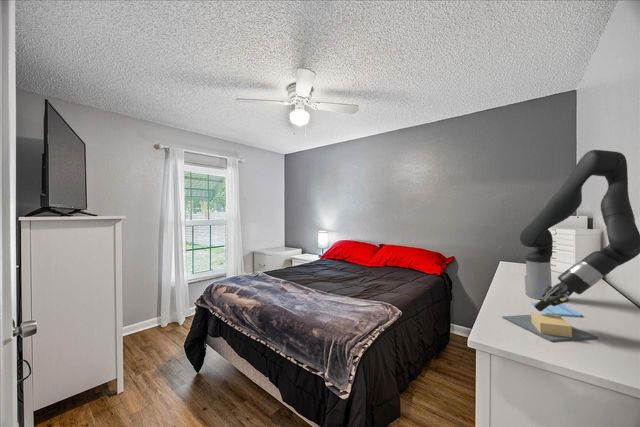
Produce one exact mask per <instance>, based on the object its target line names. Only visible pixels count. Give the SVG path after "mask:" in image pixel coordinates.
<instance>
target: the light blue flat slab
mask: <svg viewBox="0 0 640 427" xmlns="http://www.w3.org/2000/svg"><path fill="white" fill-rule="evenodd" d="M537 303H538V302H530V305H531V306H533V307H534V305H535V304H537ZM540 312H541V313H542V314H549V315H559V316H560V317H568V318H569V317H572V318H583V316H584V315H583V314H582V313H580V312H579V311H576V309H573V308H571V307H569V306H567V305H566V304H565V303H563V304H559V305H556V306H552V305H551V306H548V307H546V308H545V309H544V310H542V311H540Z"/></svg>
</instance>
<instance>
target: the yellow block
mask: <svg viewBox="0 0 640 427" xmlns="http://www.w3.org/2000/svg"><path fill="white" fill-rule="evenodd" d="M530 315H531V322H532V324H533V325H534V326H535V327H536V329H537V330H538V331H539V332H540V333H541V334H549V335H557V336H565V337H572V328H571V326H572V325H570V324H569V322H567V321H566V320H565V319H564V318H563V317H562V316H559V315H549V314H544V313H537V312H530Z"/></svg>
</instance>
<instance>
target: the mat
mask: <svg viewBox="0 0 640 427" xmlns="http://www.w3.org/2000/svg"><path fill="white" fill-rule="evenodd" d="M501 318H502V319H503V318H504V320H505V319H506V320H505V321H507V320H508V322H509V321H510V323H512V324H513V325H516V326H517V327H520V328H522V329H524V330H525V331H528V332H530V333H532V334H534V335H537V336H538V337H541V338H542V339H543V340H544V339H545V340H546V341H547V342H564V341H565V342H567V341H581V340H595V339H598V336H597V335H594V334H592V333H589V332H587V331H584V330H582V329H579V328H577V327H574V326H572V325H570V326H571V328H572V337H565V336H557V335H549V334H541V333H540V332H539V331H538V330H537V329H536V327H535V326H534V325H533V324H532V322H531V314H520V315H505V316H504V315H503V316H502V317H501Z"/></svg>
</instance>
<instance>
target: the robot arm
mask: <svg viewBox="0 0 640 427" xmlns="http://www.w3.org/2000/svg"><path fill="white" fill-rule="evenodd" d="M591 176H594V177H595V176H596V177H604V178H605V179H606V182H607V190H606V192H605V194H604V195H603V197H602V200H601V202H600V211H601V215H602V219H603V223H604V225H605V226H606V229H605V230H606V233H607V234H606V235H607V239H608V243H609V244H607V245H606V246H604V248H602V249H600V250H599V251H598V250H596V251H592V252H591V253H590V254H588V255H586V256H585V257H584V258H582V260H580V261H578V262H576V263H575V264H573V265H571V266H570V267H569V268H568V269H567V270H565V271H564V272H562V273H561V274H559V276H557V280H559V281H560V282H559V283H556V284H554V285H553V284H552V264H551V260H552V256H553V246H554V244H553V243H554V242H553V241H554V240H553V235H552V234H553V233H552V232H551V231H550V230H549V229H551V228H552V227H554V226H556V225H558V224H560V223H562V222H563V221H565V220H567V219H568V218H569V217H571V216H572V215H573V214H574V213H575V212H576V211H577V210H578V209H579V207H581V204H582V201H583V192H582V190H583V186H584V184H585V183H586V182H587V181H588V179H589V178H591ZM519 241H520V243H521V244H522V245H523V246H524V247H528V248H533V250H532V251H530V252H528V253H527V254H526V255H525V270H526V274H525V275H524V287H525V288H524V290H525V295H526V296H527V297H529V298H531V299H537V300H539V301H538V302H536V303H537V304H535V305H534V306H533V307H534V308H535V309H536V310H537V311H538V312H541V311H542V310H544V309H545V308H546V307H548V306H551V305H552V306H556V305H559V304H565V303H568V302H569V301H570V299H569V297H570V296H572V294H573V293H575V294H577V295H581V294H583V293H584V292H586V291H587V290H589V289H590V288H592V287H593V286H594V285H596V284H598V283H599V282H600V281H601V279H603V278H604V277H605V276H607V275H608V274H610V273H611V272H612V271H613V270H615V269H616V268H617V267H619V266H622V265H624V264H625V263H627V262H629V261H632V259H635V258H637V256H638V255H640V231H639V228H638V226H637V224H636V219H635V215H634V211H633V209H632V205H631V201H630V197H629V178H628V162H627V159H626V156H625V155H624V153H622V152H619V151H612V150H602V149H592V150H590V151H588V152H586V153H585V154H584V155H582V157H581V158H580V159H579V161H578V162H577V164H576V165H575V166H574V169H572V171H571V172H570V174H569V175H568V177H567V179H566V180H565V182H564V183H563V184H562V185H561V186H560V188H559V189H558V190H557V191H556V193H555V194H554V195H553V196H552V197H551V198H550V200H549V201H548V202H547V204H546V205H545V207H544V208H543V209H542V210H541V211H540V212H539V214H537V216H536V217H535V218H534V219H533V220H532V221H531V222H530V223H529V224H528V225H526V226H525V227H524V229H523V230H522V231H521V233H520V235H519ZM552 285H553V286H552Z"/></svg>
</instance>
